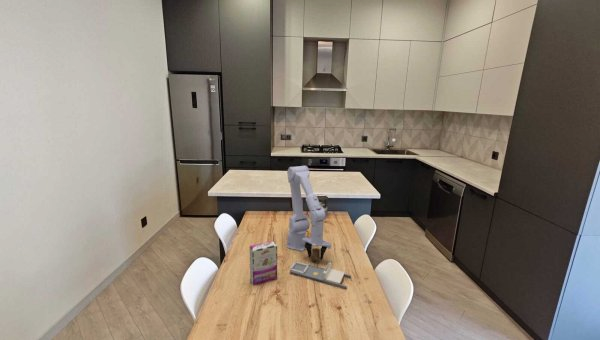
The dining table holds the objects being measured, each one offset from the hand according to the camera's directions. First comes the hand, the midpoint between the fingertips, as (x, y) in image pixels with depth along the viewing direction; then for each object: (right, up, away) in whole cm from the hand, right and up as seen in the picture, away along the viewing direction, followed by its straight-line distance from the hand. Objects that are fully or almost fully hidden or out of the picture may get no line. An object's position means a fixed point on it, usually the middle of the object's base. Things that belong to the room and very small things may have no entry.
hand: (315, 258), depth 139 cm
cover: (+7, -4, -14) cm, 16 cm away
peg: (0, -2, 0) cm, 2 cm away
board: (+1, -4, -11) cm, 12 cm away
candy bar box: (-24, -5, -15) cm, 28 cm away
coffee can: (+6, +11, +55) cm, 56 cm away
